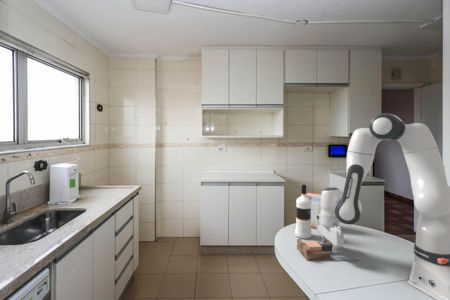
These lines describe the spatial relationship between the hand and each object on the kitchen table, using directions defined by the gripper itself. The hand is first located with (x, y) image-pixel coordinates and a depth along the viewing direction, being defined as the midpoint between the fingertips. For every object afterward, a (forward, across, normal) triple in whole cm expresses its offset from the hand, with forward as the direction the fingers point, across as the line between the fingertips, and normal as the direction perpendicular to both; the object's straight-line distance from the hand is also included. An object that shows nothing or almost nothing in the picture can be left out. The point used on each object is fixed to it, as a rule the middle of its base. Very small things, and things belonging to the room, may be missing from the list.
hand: (329, 247), depth 125 cm
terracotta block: (+3, 0, +5) cm, 6 cm away
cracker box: (+3, +33, -10) cm, 34 cm away
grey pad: (+3, 0, -4) cm, 5 cm away
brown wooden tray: (+3, 0, +8) cm, 8 cm away
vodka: (+3, +21, +4) cm, 22 cm away
